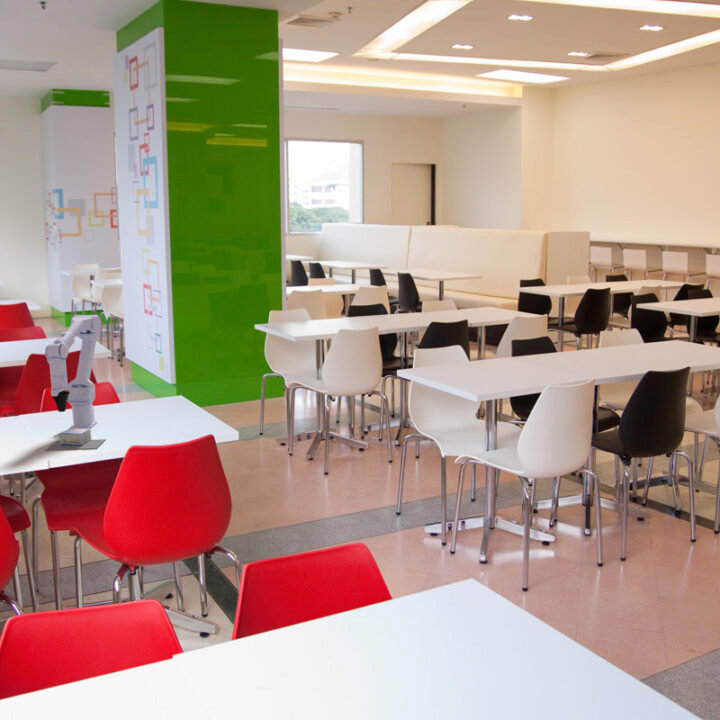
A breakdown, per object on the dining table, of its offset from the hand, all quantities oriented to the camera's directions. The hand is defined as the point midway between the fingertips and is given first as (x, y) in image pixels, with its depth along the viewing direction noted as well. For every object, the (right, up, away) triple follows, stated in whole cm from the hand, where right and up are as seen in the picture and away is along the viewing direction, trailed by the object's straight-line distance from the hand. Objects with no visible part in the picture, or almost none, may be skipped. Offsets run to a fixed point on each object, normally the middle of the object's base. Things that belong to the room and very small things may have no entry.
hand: (62, 411), depth 309 cm
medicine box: (+9, -8, -6) cm, 13 cm away
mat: (+9, -11, -12) cm, 19 cm away
